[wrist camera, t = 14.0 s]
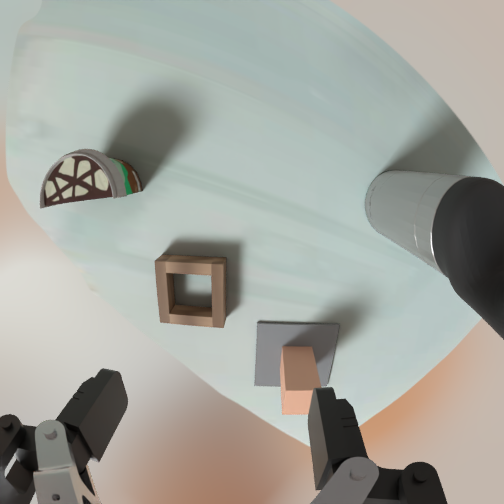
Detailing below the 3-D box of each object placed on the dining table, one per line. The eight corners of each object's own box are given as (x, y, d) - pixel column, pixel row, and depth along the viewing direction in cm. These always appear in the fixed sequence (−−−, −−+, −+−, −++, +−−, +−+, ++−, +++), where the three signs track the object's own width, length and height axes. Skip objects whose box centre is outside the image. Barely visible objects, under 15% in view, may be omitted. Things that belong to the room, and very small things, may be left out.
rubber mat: (338, 323, 41) (339, 325, 41) (326, 384, 45) (326, 386, 44) (257, 322, 42) (257, 323, 42) (254, 384, 45) (254, 385, 45)
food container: (150, 144, 36) (114, 139, 26) (152, 190, 37) (118, 198, 28) (77, 158, 36) (33, 159, 27) (79, 198, 38) (37, 209, 28)
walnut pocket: (226, 257, 39) (223, 264, 37) (226, 317, 42) (223, 327, 39) (162, 254, 40) (154, 261, 37) (166, 312, 42) (160, 322, 39)
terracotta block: (311, 346, 42) (321, 390, 33) (308, 369, 43) (316, 414, 34) (282, 346, 42) (285, 390, 33) (279, 369, 44) (282, 414, 34)
